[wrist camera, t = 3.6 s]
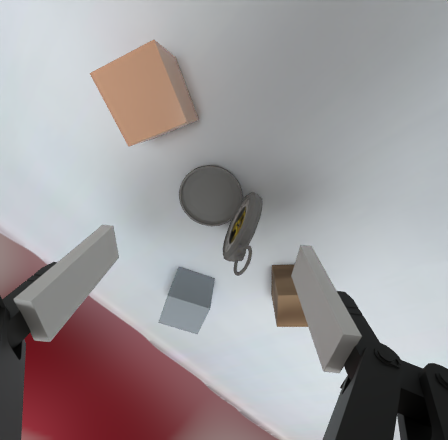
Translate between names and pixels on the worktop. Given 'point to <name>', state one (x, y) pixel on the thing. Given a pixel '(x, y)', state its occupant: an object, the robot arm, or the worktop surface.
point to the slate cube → (188, 301)
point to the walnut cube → (286, 298)
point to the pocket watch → (222, 208)
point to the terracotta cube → (145, 93)
